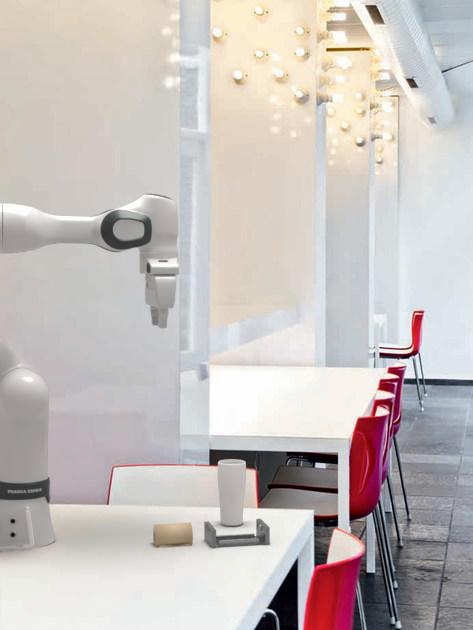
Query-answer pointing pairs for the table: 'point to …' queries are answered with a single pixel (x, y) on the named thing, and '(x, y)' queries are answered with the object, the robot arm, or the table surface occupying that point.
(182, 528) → the roll
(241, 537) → the holder
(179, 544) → the chock
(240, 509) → the drinking glass
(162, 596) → the table surface
